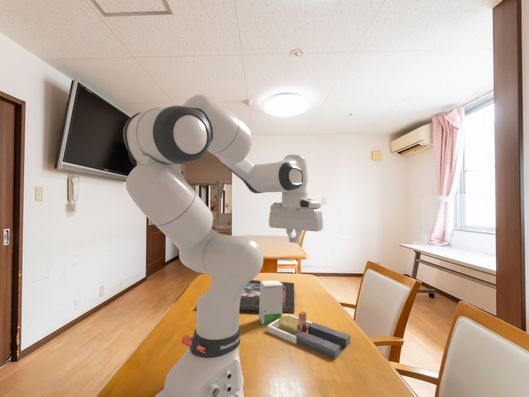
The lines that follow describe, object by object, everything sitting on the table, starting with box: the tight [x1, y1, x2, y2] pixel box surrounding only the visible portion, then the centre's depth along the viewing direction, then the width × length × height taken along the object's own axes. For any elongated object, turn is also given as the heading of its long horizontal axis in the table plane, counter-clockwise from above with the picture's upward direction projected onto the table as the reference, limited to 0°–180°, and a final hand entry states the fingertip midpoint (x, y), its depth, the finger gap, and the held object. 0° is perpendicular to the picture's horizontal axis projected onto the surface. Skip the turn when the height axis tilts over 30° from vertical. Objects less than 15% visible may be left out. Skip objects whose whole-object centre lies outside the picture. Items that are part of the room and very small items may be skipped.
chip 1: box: [278, 314, 294, 333], centre depth 94 cm, size 4×4×4 cm
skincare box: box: [258, 280, 283, 325], centre depth 102 cm, size 8×7×16 cm
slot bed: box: [295, 321, 351, 360], centre depth 85 cm, size 12×14×4 cm
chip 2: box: [287, 319, 299, 336], centre depth 92 cm, size 4×4×4 cm
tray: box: [266, 313, 313, 344], centre depth 93 cm, size 13×12×3 cm
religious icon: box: [195, 279, 295, 315], centre depth 129 cm, size 40×45×3 cm
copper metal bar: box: [298, 311, 308, 333], centre depth 90 cm, size 4×2×7 cm, turn 141°
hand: (293, 242), depth 87 cm, fingers closed
